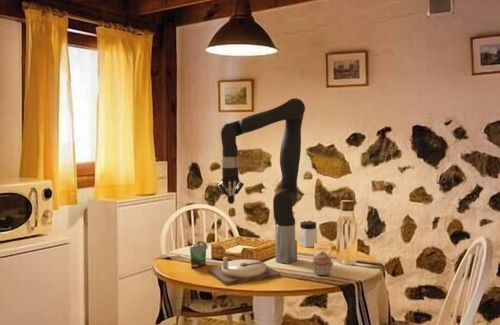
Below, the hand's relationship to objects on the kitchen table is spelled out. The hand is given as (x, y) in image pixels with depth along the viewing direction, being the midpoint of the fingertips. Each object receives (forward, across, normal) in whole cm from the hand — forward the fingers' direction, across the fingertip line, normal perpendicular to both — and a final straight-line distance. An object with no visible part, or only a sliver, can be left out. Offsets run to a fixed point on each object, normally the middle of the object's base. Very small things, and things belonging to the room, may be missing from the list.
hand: (230, 203), depth 254 cm
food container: (+27, +16, +2) cm, 32 cm away
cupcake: (+27, -26, +38) cm, 53 cm away
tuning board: (+27, +4, +23) cm, 36 cm away
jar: (+27, -46, -9) cm, 54 cm away
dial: (+25, +4, +23) cm, 35 cm away
